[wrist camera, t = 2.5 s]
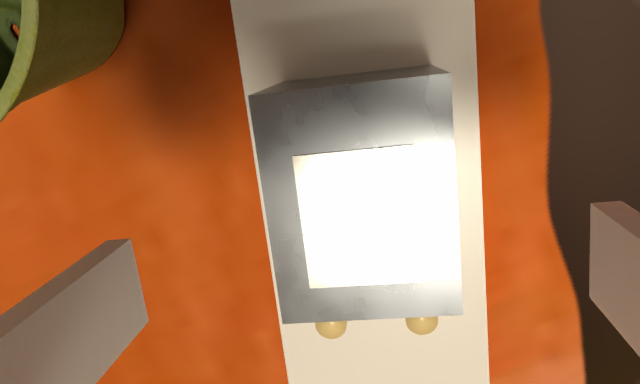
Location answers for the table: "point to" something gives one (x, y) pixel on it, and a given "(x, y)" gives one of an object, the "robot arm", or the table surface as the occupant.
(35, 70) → the plant pot
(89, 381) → the robot arm
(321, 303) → the block
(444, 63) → the tray
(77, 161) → the table surface
